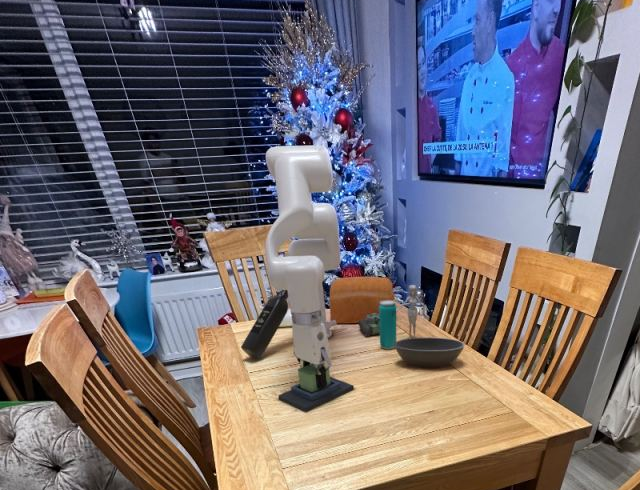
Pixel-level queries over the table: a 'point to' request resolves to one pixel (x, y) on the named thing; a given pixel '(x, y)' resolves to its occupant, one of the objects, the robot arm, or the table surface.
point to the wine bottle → (266, 325)
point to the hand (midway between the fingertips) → (315, 383)
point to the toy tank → (370, 325)
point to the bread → (358, 297)
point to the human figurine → (412, 308)
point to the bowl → (429, 351)
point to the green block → (310, 378)
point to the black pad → (315, 395)
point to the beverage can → (387, 324)
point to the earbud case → (287, 319)
